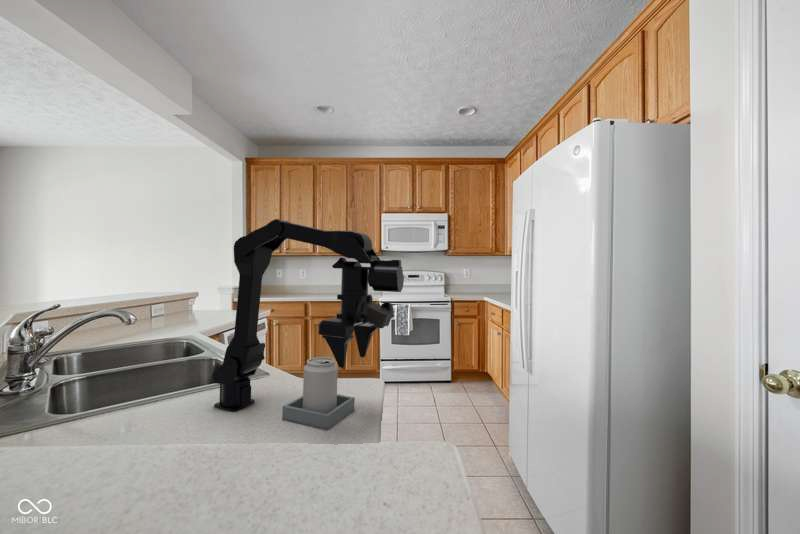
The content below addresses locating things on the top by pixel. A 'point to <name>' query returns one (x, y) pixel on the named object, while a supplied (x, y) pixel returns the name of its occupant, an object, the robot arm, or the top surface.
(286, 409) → the bin
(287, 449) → the top surface
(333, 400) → the can
